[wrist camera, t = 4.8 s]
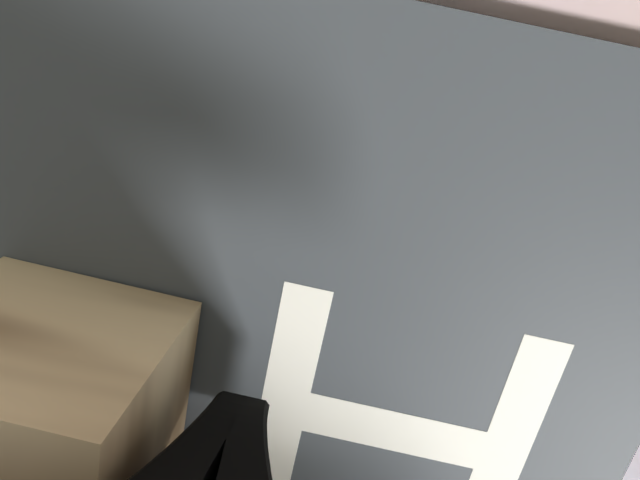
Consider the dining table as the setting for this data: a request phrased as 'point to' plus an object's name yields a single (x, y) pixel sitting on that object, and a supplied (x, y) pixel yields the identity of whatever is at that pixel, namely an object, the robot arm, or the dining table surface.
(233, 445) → the robot arm
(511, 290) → the letter board
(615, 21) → the dining table surface
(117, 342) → the maple block
